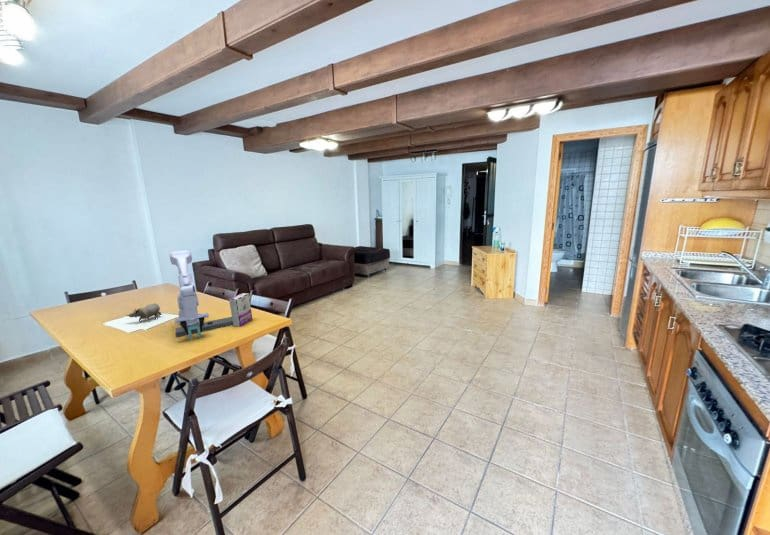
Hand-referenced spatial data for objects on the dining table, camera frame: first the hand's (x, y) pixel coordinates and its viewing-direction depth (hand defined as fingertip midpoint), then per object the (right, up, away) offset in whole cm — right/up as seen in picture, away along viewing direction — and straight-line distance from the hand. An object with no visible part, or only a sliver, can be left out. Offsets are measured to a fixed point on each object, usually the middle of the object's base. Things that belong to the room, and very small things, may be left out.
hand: (194, 333), depth 154 cm
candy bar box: (+16, +2, +19) cm, 25 cm away
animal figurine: (-45, +2, +26) cm, 53 cm away
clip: (0, -2, 0) cm, 2 cm away
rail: (-1, 0, +12) cm, 12 cm away
